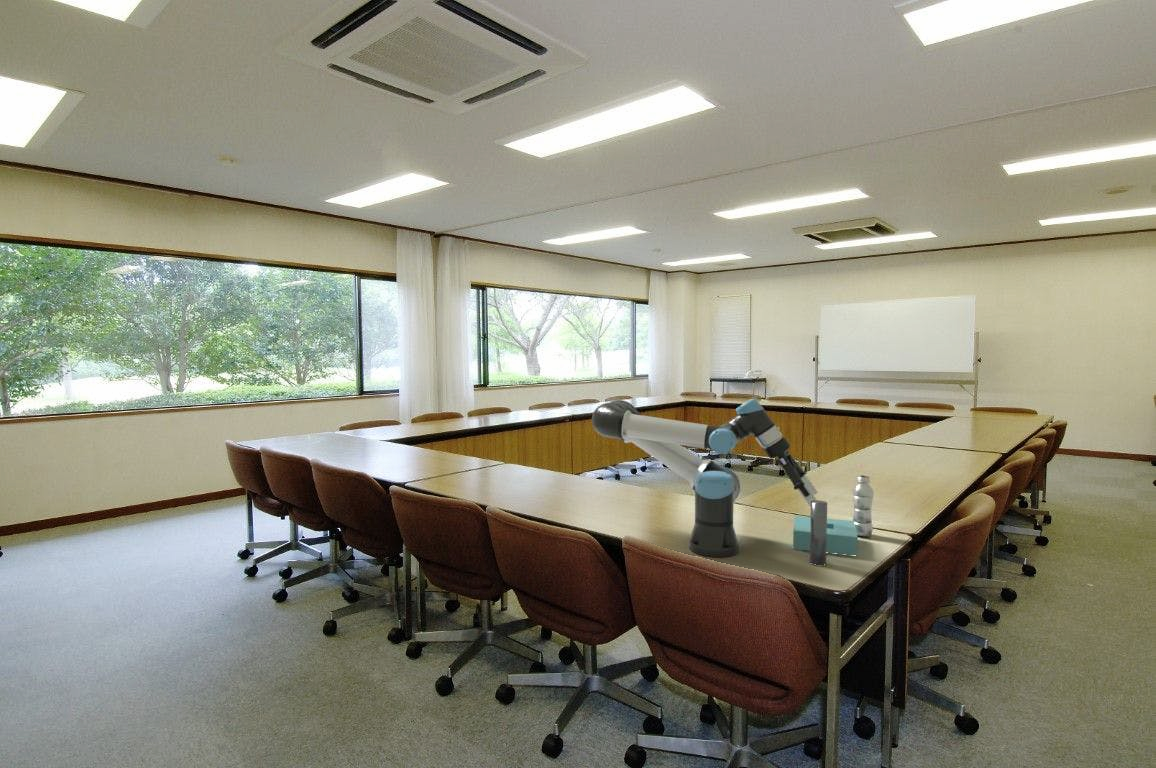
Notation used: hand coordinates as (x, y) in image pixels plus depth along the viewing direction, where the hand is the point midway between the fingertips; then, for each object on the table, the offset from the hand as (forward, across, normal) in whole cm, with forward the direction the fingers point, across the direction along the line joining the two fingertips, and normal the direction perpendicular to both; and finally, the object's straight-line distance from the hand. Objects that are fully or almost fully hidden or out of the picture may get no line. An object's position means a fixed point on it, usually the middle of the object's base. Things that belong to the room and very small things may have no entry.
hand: (814, 499), depth 180 cm
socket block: (+14, +5, +6) cm, 16 cm away
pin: (+13, -14, +8) cm, 21 cm away
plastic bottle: (+21, +19, -3) cm, 29 cm away
